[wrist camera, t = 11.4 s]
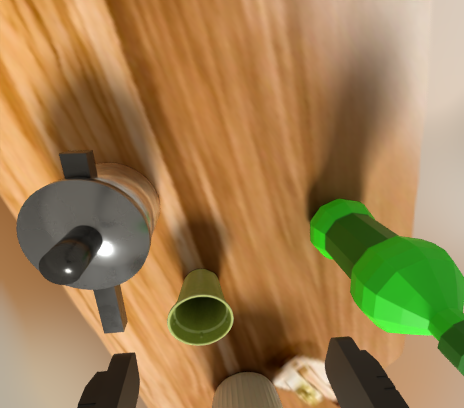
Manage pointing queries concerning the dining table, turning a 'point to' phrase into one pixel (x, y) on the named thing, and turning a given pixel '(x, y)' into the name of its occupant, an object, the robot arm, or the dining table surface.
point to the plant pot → (200, 310)
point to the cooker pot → (134, 187)
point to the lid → (84, 233)
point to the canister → (246, 392)
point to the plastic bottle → (394, 276)
